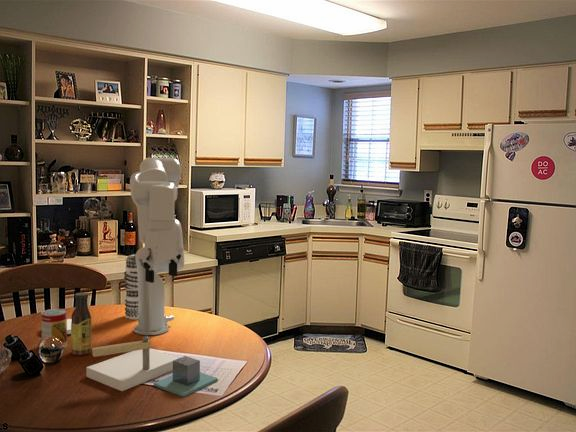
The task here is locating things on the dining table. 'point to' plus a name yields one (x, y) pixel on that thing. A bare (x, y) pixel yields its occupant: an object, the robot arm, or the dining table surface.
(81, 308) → the sauce bottle
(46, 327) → the canned food
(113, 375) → the white slab
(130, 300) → the decorative candle
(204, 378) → the mat
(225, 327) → the dining table surface
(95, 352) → the lever
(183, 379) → the grey stone cube
